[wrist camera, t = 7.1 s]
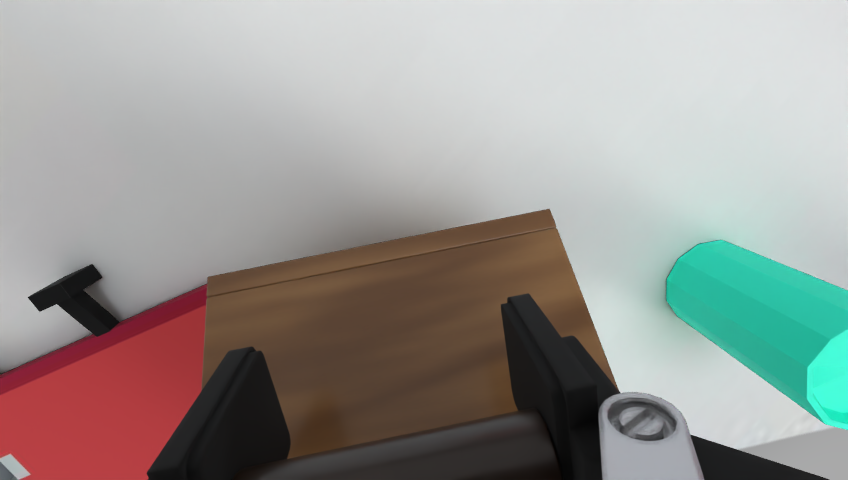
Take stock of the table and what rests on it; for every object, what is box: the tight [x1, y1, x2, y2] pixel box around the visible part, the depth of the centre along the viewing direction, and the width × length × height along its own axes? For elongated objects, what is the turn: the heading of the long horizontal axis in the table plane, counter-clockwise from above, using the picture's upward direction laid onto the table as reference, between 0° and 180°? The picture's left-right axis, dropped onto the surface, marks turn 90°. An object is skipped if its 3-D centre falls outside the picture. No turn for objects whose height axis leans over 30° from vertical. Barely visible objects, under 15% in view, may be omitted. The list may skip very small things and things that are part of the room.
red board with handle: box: [0, 264, 208, 480], centre depth 27 cm, size 30×3×15 cm
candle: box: [666, 240, 848, 430], centre depth 24 cm, size 6×6×12 cm
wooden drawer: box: [201, 209, 618, 480], centre depth 18 cm, size 20×13×10 cm
